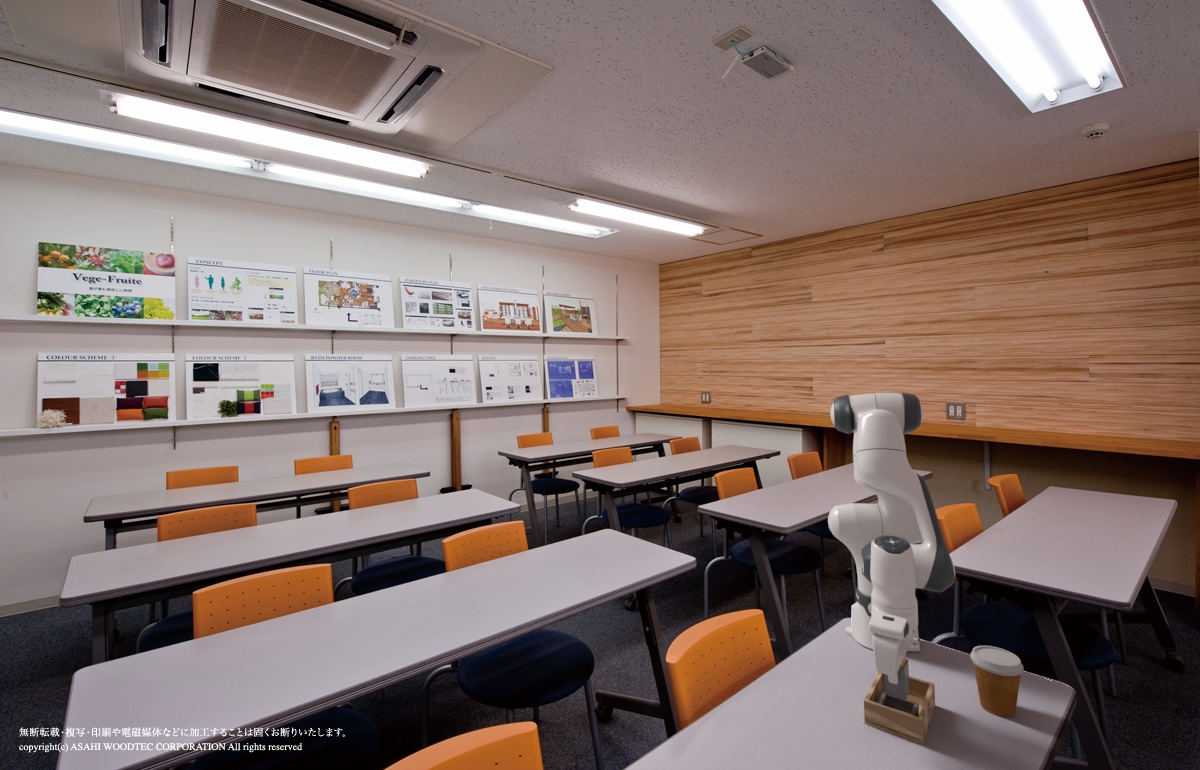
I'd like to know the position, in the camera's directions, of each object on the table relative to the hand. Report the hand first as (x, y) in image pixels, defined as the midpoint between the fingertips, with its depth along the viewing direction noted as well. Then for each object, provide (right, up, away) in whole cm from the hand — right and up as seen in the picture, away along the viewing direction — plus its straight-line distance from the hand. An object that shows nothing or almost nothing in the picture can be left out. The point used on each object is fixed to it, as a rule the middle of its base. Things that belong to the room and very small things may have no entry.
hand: (896, 676), depth 112 cm
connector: (0, -4, 0) cm, 4 cm away
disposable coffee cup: (+25, -9, +3) cm, 27 cm away
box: (+2, -10, +2) cm, 10 cm away
